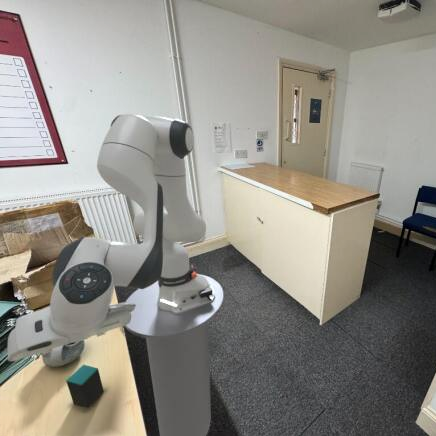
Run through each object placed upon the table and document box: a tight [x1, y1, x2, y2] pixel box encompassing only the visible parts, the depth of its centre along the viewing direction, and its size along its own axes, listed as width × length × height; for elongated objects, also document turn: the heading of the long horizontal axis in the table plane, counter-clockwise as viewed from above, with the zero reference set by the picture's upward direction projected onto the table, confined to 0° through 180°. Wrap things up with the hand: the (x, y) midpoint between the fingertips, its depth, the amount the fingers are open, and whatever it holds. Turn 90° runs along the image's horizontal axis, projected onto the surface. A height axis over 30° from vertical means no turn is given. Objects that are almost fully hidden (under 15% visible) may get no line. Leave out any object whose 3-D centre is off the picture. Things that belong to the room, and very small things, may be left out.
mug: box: [39, 340, 86, 368], centre depth 69 cm, size 10×12×10 cm
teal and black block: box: [65, 364, 105, 409], centre depth 61 cm, size 4×4×9 cm
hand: (75, 340), depth 56 cm, fingers open, 8 cm apart
